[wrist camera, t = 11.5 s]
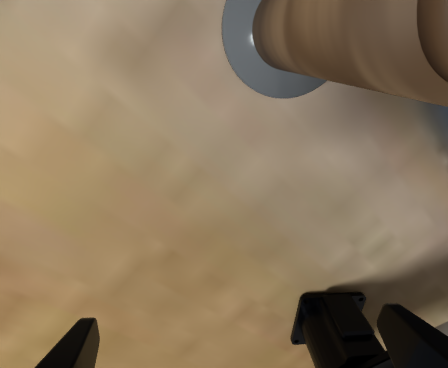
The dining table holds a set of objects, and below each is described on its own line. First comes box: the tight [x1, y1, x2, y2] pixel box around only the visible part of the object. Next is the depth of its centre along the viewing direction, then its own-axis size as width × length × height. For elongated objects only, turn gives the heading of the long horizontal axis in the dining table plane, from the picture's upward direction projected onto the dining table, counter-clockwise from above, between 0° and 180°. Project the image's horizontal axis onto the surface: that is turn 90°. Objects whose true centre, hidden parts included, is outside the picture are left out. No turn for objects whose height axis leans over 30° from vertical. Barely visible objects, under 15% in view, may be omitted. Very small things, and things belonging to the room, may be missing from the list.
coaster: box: [222, 0, 327, 98], centre depth 17 cm, size 8×8×1 cm
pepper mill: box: [252, 0, 448, 107], centre depth 10 cm, size 5×5×16 cm
